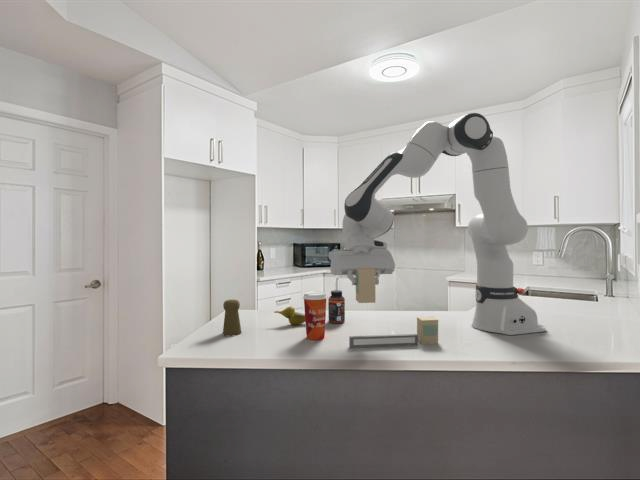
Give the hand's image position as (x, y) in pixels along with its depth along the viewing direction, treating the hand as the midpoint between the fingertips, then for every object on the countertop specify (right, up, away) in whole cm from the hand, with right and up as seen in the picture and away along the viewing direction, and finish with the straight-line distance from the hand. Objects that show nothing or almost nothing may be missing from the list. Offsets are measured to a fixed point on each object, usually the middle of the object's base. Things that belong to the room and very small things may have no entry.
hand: (365, 283), depth 113 cm
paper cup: (-15, -18, +4) cm, 23 cm away
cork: (-43, -18, +10) cm, 47 cm away
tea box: (+18, -17, -1) cm, 25 cm away
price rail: (+5, -17, -5) cm, 19 cm away
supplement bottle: (-8, -17, +23) cm, 29 cm away
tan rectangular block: (0, -5, +1) cm, 5 cm away
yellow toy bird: (-23, -17, +19) cm, 34 cm away
